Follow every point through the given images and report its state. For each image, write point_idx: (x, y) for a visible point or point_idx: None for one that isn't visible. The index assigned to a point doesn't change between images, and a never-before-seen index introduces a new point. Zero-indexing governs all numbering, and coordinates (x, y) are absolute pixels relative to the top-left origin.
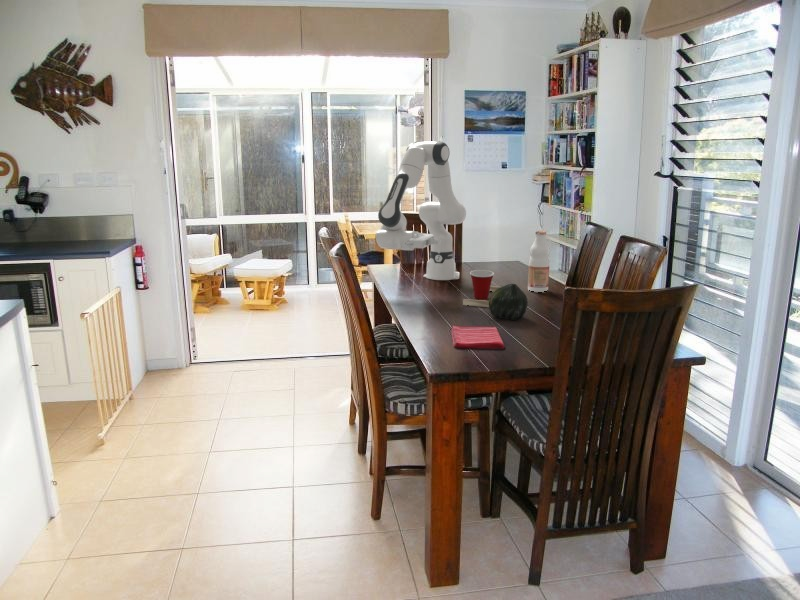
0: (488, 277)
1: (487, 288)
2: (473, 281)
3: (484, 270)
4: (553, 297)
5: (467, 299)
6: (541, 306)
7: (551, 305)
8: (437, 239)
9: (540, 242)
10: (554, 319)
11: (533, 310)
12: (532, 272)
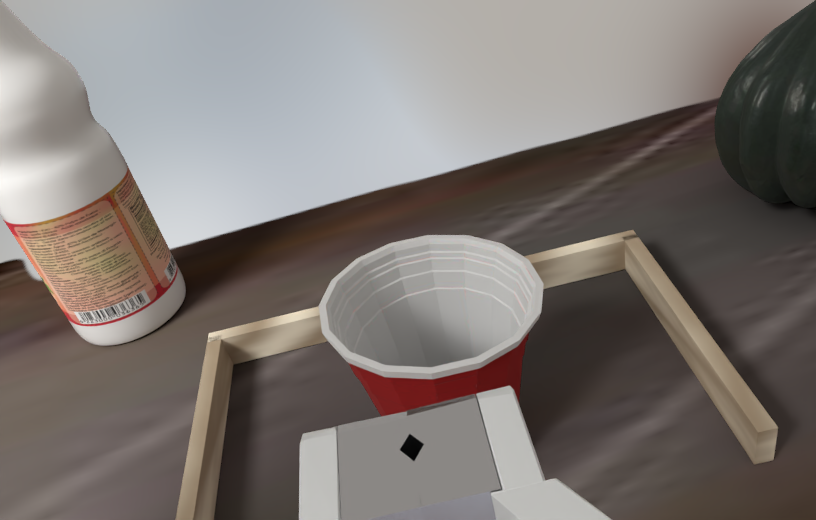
0: (484, 257)
1: (478, 340)
2: (508, 379)
3: (327, 312)
4: (277, 226)
5: (746, 403)
6: (484, 194)
7: (442, 182)
8: (338, 484)
9: (23, 30)
10: (674, 109)
11: (582, 185)
12: (126, 222)
